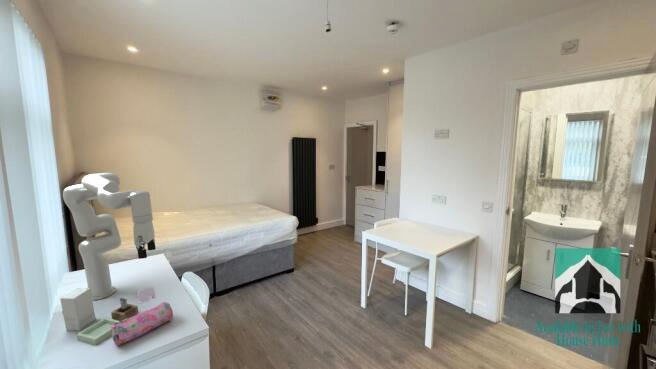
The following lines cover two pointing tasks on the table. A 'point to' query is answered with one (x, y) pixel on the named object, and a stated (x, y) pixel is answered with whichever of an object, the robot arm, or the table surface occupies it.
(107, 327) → the tray
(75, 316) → the skincare box
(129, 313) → the brown square frame
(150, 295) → the mobile phone
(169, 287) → the table surface
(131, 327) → the pencil case
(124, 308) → the grey stamp
